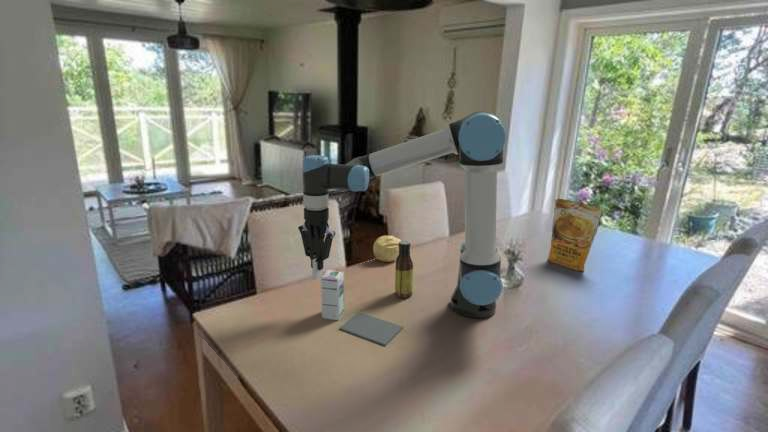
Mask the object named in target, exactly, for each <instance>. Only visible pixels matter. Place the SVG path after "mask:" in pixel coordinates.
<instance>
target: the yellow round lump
mask: <svg viewBox="0 0 768 432" xmlns="http://www.w3.org/2000/svg"><path fill="white" fill-rule="evenodd" d="M400 241H402V240H401V239H400V238H398V237H396V236H394V235H381V236H379V237H377V239H376V240H374V243H373V246H372V248H373V249H372V251H373V255H374V257H375V259H377V260H379V261H380V262H385V263H390V262H393V261H396V258H397V257H398V255H399V242H400Z"/></svg>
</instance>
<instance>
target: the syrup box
mask: <svg viewBox="0 0 768 432" xmlns="http://www.w3.org/2000/svg"><path fill="white" fill-rule="evenodd" d="M344 272H345V271H342V270H337V269H327V270H326V271H325V272H324V273H322V277H321V278H320V285H321V286H320V288H321V289H320V290H321V291H320V292H321V294H320V295H321V296H320V297H321V318H322V319H326V320H334V321H339V320H340V319H341V317H342V316H343V314H344V312H345V278H344V277H345V273H344Z"/></svg>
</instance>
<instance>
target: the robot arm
mask: <svg viewBox="0 0 768 432" xmlns="http://www.w3.org/2000/svg"><path fill="white" fill-rule="evenodd" d="M506 141H507V132H506V128H505V126H504V124H503V122H502V121H501V119H500V118H499V117H498V116H496V115H494V113H493V114H492V113H490V112H487V111H486V112H485V111H475V112H472V113H470V114H468V115H466V116H465V117H462V118H461V119H458V120H455V121H454V122H450V123H448V124H447V126H446V127H445V128H444V129H440V130H437V131H434V132H432V133H428V134H425V135H422V136H419V137H416V138H413V139H409V140H407V141H405V142H401V143H399V144H395V145H393V146H390V147H386V148H384V149H380V150H378V151H374V152H372V153H369V154H365V155H363V156H357V157H354V158H353V159H352V160H350V161H349V162H347V163H345V164H342V163H341V164H338V163H331V162H330V160H329V158H328V156H326V155H321V154H313V155H306V156H304V158H303V159H302V172H301V173H302V186H303V189H302V190H303V191H302V192H303V197H302V198H303V199H302V201H303V202H302V203H303V204H302V205H303V207H304V208H303V220H305V221H304V222H303V224H302V225H299V226H298V230H299V233H300V235H301V240H302V244H303V250H304V254H305V256H306V257H309V259H310V267H311V269H312V280H314V281H318V280H321V277H322V276H323V270H324V261H325V260H327V259H329V257H330V254H331V248H332V243H333V239H334V237H335V236H336V234H337V233H336V231H334V230H333V231H332V230H331V229H330V226H329V225H330V224H329V218H330V216H329V214H330V209H329V206H330V204H329V197H330V196H329V194H330V193H329V191H330V190H334V191H335V190H337V191H348V192H350V191H351V192H366V191H367V190H368V188H369V187H368V186H369V183H370V180H371V179H373V178H376V177H380V176H382V175H385V174H389V173H392V172H395V171H398V170H401V169H405V168H409V167H411V166H414V165H418V164H421V163H424V162H427V161H430V160H433V159H437V158H440V157H443V156H446V155H449V154H454V155H458V156H459V158H458V159H459V160H458V161H459V163H458V165H459V166H460V167H461V168H462V169H463V170H464V225H465V226H464V241H465V242H463V243H462V244H461V247H460V249H459V252H460V253H459V263H458V264H459V265H458V266H459V267H458V274H457V284H456V285H455V288H454V289H453V290H454V291H452V295H451V296H450V305H449V306H450V308H451V309H452V310H453V311H454V312H455V313H457V314H458V315H461V316H463V317H467V318H472V319H486V318H487V319H488V318H489V317H492V316H494V314H495V313H496V310H497V309H496V308H497V300H498V299H499V297H500V296H501V294H502V290H503V282H502V279H501V278H502V277H501V269H502V268H501V266H502V264H501V263H502V259H501V258H502V257H501V254H499V253H498V247H497V245H496V243H497V237H496V236H497V234H496V233H497V197H498V196H497V195H498V194H497V189H498V188H497V187H498V185H497V184H498V169H499V168H500V167H501V166H502V165H503V164H504V147H505V144H506Z"/></svg>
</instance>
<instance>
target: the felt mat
mask: <svg viewBox="0 0 768 432" xmlns="http://www.w3.org/2000/svg"><path fill="white" fill-rule="evenodd" d="M338 329H339V330H341V331H345V332H347V333H349V334H351V335H355V336H358V337H359V338H363V339H365V340H368V341H370V342H373V343H375V344H379V345H382V346H384V347H386V346H387V345H388V344H389V343H390V342H391V341H392V340H393V339H394V338H395V337H396V336H397V335H398V334H399V333H400V332H401V331H402V330H403V329H404V326H403V325H400V324H397V323H393V322H390V321H387V320H385V319H381V318H379V317H376V316H372V315H371V314H366V313H364V312H362V311H358V313H356V314H355V315H353V316H352V317H351V318H350V319H349V320H348V319H347V321H346V322H344V323H343V324H342V325H341V326H340V327H339V328H338Z"/></svg>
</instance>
